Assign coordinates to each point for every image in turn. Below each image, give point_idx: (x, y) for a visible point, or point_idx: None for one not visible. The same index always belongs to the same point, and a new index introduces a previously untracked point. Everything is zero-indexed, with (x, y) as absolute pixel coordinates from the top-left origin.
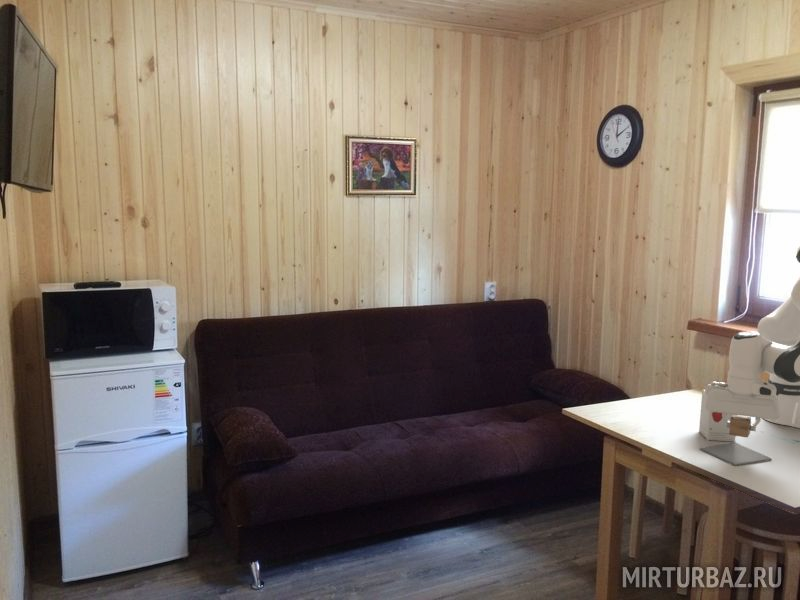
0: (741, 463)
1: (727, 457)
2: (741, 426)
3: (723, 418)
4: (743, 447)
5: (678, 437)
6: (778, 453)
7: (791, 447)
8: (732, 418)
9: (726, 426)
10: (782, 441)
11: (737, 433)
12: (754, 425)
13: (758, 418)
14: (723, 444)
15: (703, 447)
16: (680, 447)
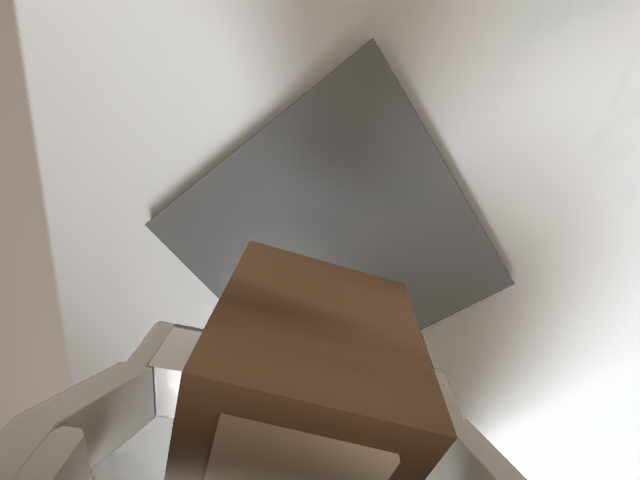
0: (323, 79)
1: (394, 163)
2: (298, 324)
3: (509, 465)
4: None
5: (558, 402)
6: (124, 320)
7: None
8: (414, 454)
9: (435, 371)
10: None
11: (338, 278)
12: (139, 367)
13: (7, 466)
14: None
15: (492, 290)
16: (615, 281)
